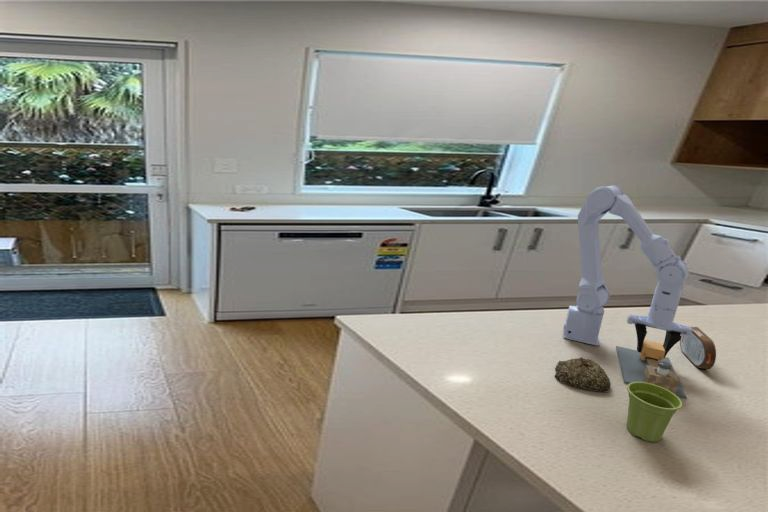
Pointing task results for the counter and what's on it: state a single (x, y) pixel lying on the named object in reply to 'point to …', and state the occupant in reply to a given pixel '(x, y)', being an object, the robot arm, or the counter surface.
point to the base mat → (638, 368)
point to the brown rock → (582, 374)
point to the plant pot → (650, 410)
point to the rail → (651, 361)
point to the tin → (698, 348)
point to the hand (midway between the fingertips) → (650, 353)
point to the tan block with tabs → (652, 350)
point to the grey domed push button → (663, 368)
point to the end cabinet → (661, 379)
